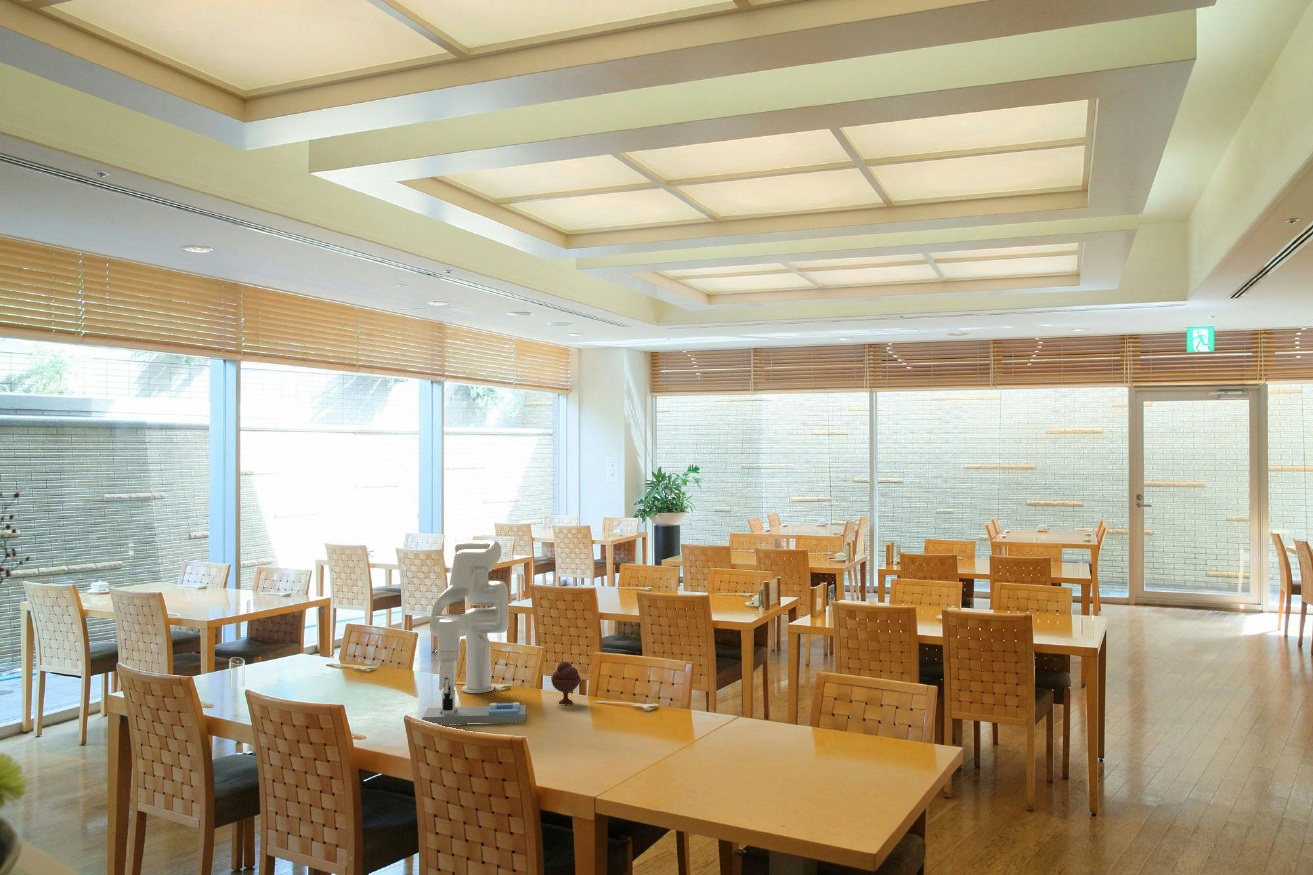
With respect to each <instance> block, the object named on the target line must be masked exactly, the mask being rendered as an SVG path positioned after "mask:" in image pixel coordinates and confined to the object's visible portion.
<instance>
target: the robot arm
mask: <svg viewBox="0 0 1313 875" xmlns="http://www.w3.org/2000/svg"><path fill="white" fill-rule="evenodd" d="M454 551H455V554H454V557H453V563H452V568H451V574H450V580H449V585H448V588H446V589H445V590H444V591H443V592H442V593H441V594H440V595H439V596H438V597H437V599H436V600H435V602H434V604H433V606H432V610H431V616H430V620H429V631H430V633H431V635H433V636H435V637H437V661H439V671H438V672H439V677H438V678H439V681H438V690H439V691H442V692H443V710H444V711H450V710H452V709H453V698H452V690H455V687H456V685H457V671H458V670H457V668H458V666H457V663H458V662H457V661H459V660H460V659H461V653H460V652H461V650H460V649H461V645H460V644H461V637H465V685H463V686H462V687H461V691H462V692H464V693H468V694H483V693H484V694H485V693H488V692H489V693H490V692H492V691H494V690H495V689H494V686H495V685H494V684H493V683H492V682H491V681H492V680H491V678H492V677H491V676H492V675H491V674H492V671H491V670H492V669H491V666H492V663H491V661H492V656H491V654H492V653H491V649H492V648H491V647H492V646H491V641H490V639H489V638H488V636H487V635H486V634H502V633H506V632H507V631H508V629H509V626H510V625H509V624H510V613H509V612H510V611H509V610H510V609H509V607H510V606H509V605H510V604H509V603H510V602H509V590H508V586H507V583H506V582H504V581H501V580H490V579H489V572H492V571H493V570H494V568H495V567H496V565H497V564H498V563H499V561H500V559H501V557H502V556H501V555H502V546H501V544H500V542H498V541H496V540H474V539H473V540H470V539H469V540H462V541H458V542H456V544H455V545H454ZM465 597H466V600H467V603H468V604H470V605H471V606H483V607H475V608H469V609H468V610H466V611H465V613H463V614H451V613H450V614H442V613H443V611H444V610H445V609H446V607H447V606H449V605H451V603H453V602H456V601H458V600H460V599H462V598H465ZM484 606H485V607H484ZM486 606H494V607H491V608H490V607H486ZM491 685H494V686H491ZM449 688H450V689H449ZM449 691H450V692H449Z"/></svg>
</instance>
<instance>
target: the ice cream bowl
mask: <svg viewBox="0 0 1313 875" xmlns="http://www.w3.org/2000/svg"><path fill="white" fill-rule="evenodd" d="M550 679H551V680H550V681H551V684H552V687H554V688H555V690H557V691H558V692H561V693H562V694H563V698H562V699H560V700H559V701H558V703H559V704H571V703H573V704H574V702H573V700H572V699H570V698H569V693H570V692H573V691H574V690H575V689H576V688H577V687H578V686H579V685H580V682H581V675H579V671H578V669H577V668H575V667H574V666H573V665H572V664H571V663H570V662H569V661H561V662H559V664H558V665H557V668H556V671H554V672H553V674H552V676H551V677H550ZM559 704H558V705H559ZM571 705H572V704H571Z"/></svg>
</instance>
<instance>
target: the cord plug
mask: <svg viewBox="0 0 1313 875" xmlns="http://www.w3.org/2000/svg"><path fill="white" fill-rule="evenodd" d="M449 689H450V688H449ZM449 692H450V691H449ZM452 698H453V709H452V710H450V711H444V710H443V691H442V692H441V707H442V714H455V707H456V689H454V690H452Z"/></svg>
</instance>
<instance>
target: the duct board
mask: <svg viewBox="0 0 1313 875" xmlns="http://www.w3.org/2000/svg"><path fill="white" fill-rule="evenodd" d="M526 708H527V705H526V704H521V703H520V702H517V701H516V702H508V703H507V702H504V703H497V702H491V703H490V704H489V705H479V706H478V705H477V706H474V705H473V706H455V714H442V706H441V707H439V706H438V707H427V708H426V710H425V712H424V713H423V715H422V718H421V719H422V720H425V721H429V722H432V723H437V724H439V725H446V726H450V725H449V724H456V725H455V726H458V725H457V724H467V723H510V724H514V723H513V722H517V723H516V724H519V723H518V722H524V723H525V721H526V720H525V719H526V715H527V710H526ZM524 720H525V721H524Z"/></svg>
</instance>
